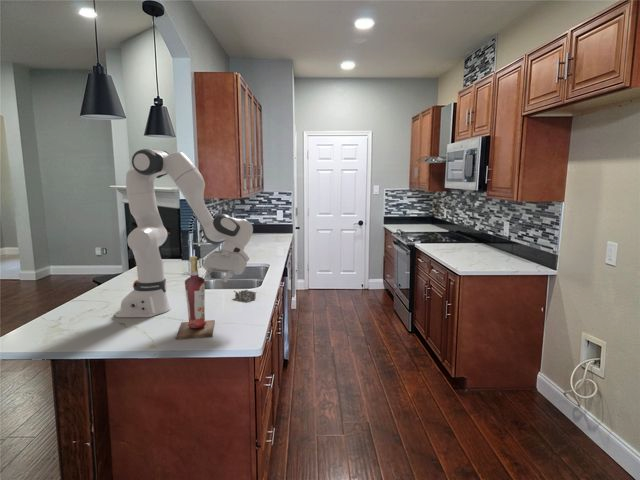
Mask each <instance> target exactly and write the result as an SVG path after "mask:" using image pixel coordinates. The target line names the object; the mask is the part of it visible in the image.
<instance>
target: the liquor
mask: <svg viewBox="0 0 640 480" xmlns="http://www.w3.org/2000/svg"><path fill="white" fill-rule="evenodd" d="M189 263H190V276H189V277H188V278H186V279H185V280H184V287H185V297H186V305H187V313H188V315H187V316H188V317H187V318H188V322H189V324H188V326H189V327H190V328H192V329H201V328H203V327H204V326H205V325H206V322H205V321H206V318H205V317H206V314H205V313H206V312H205V306H206V305H205V302H206V301H205V297H206V296H205V293H206V292H205V285H206V283H205V282H206V279H205V278H203V277H201V276H199V270H198V256H190V257H189Z"/></svg>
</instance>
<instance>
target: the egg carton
mask: <svg viewBox="0 0 640 480" xmlns="http://www.w3.org/2000/svg"><path fill="white" fill-rule="evenodd" d="M233 292H234V293H235V295H234V298H236V300H240V301H242V300H243V301H244V302H251V300H252V301H253V300H256V299H257V297H256V296H257V295H256V294H257V291H256V292H255V291H252V290H248V289H243V290H241V291H239V290H238V291H236V290H233Z"/></svg>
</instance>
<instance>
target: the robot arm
mask: <svg viewBox="0 0 640 480" xmlns="http://www.w3.org/2000/svg"><path fill="white" fill-rule="evenodd" d="M131 165H132V167H131V168H130V169H128V170H127V172H126V174H125V188H126V194H127V195H126V196H127V201H128V208H129V211H130V212H129V213H130V214H131V215H132V216H133V217H132V218H134V220H135V223H136V226H137V227H135V228H134V229H133V230H131V232H130V233H129V234H128V235H127V241H126V242H127V245H128V247H129V248H130V250H132V253H133V256H134V260H135V263H136V265H135V266H136V274H137V279H135V280H134V282H133V284H132V287H133V289H132V290H131V291H130V292H129V293H128V294H126V295H125V296H124V297H123V298H122V299H121V302H120V306H119V307H120V308H118V309H117V310H116V311H114V312H115V313H114V317H115V318H152V317H154V316H157V315H161V314H164V313H166V312H168V311H170V310H171V306H170V304H169V301H168V296H167V287H168V286H167V281H166V278H165V265H164V264H165V263H164V260H163V259H162V256H161V253H160V250H159V249H160V247H161V246H162V245H163V244H165V242H166V241H167V238H168V230H167V229H166V227H165V226H164V223H163V220H162V218H161V215H160V212H159V209H158V203H157V197H156V192H155V191H156V190H155V185H154V182H155V179H160V178H162V177H164V176H167V175H168V176H169V177H170V178H171V179H172V181H173V182H174V184H175V185H176V186H177V188H178V189H179V191H180V192H181V194H182V196H183V197H184V199H185V201H186V203H187V205H188V207H189V209H190V210H191V211H192V213H193V215H194V216H195V218H196V220H197V222H198V224H199V225H200V228H201V229H202V233H203V237H204V239H205V240H206V242H208V243H209V244H211V245H215V246H217V245H221V244H222V243H223V244H222V246H221V248H220V250H218V251H217V250H214V251H212V252H210V253H209V254H208V256H206V257H205V259H204V260H203V262H202V267H203V268H204V269H205V271H206V272H205V275H204V279H205V280H211V277H212V276H211V273H213V272H215V273H216V272H217V273H225V274H226V275H225V276H222V278H221V281H222V282H223V283H227V282H228V281H229V280H230V279H231V278H232V277H233V276H234V275H237V276H240V275H241V274H243V273H244V271H245V269H246V268H247V264H248V262H249V260H250V257H249V256H248V254H247V253H246V252H245V251H244V250H245V247H246V246H247V245H248V244H249V242H250V240H251V238H252V235H253V232H254V226H253V225H252V223H251V221H248V220H247V219H245V218H237V217H236V218H235V217H231V216H230V215H229V214H225V213H220V214H217V215H216V216H215V217H214V218H213V215H212V213H211V212H210V211H209V209H208V207H207V205H206V203H205V198H204V194H205V188H206V183H205V180H204V177H203V175H202V173H201V172H200V171H199V169H198V168H197V166H196V165H195V163H193V162H192V161H191V159H190V158H189V157H188V156H187V155H186V154H185V153H184V152H182V151H173V152H170V153H169V152H167V151H165V150H160V149H157V148H156V149H155V148H152V149H148V148H143V149H140V150H137V151H136V152H134V154H133V155H132V157H131Z"/></svg>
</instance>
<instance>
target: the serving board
mask: <svg viewBox="0 0 640 480" xmlns="http://www.w3.org/2000/svg"><path fill="white" fill-rule="evenodd" d="M205 322H206V325H205V326H204V327H203V328H201V329H192V328H190V327H189V326H188V324H189V321H182V322H181V323H180V325H179V328H178V330H177V332H176V335H175V340H188V339H199V338H210V337H213V335H214V328H215V323H216V322H215V319H212V320H210V319H209V320H205Z"/></svg>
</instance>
